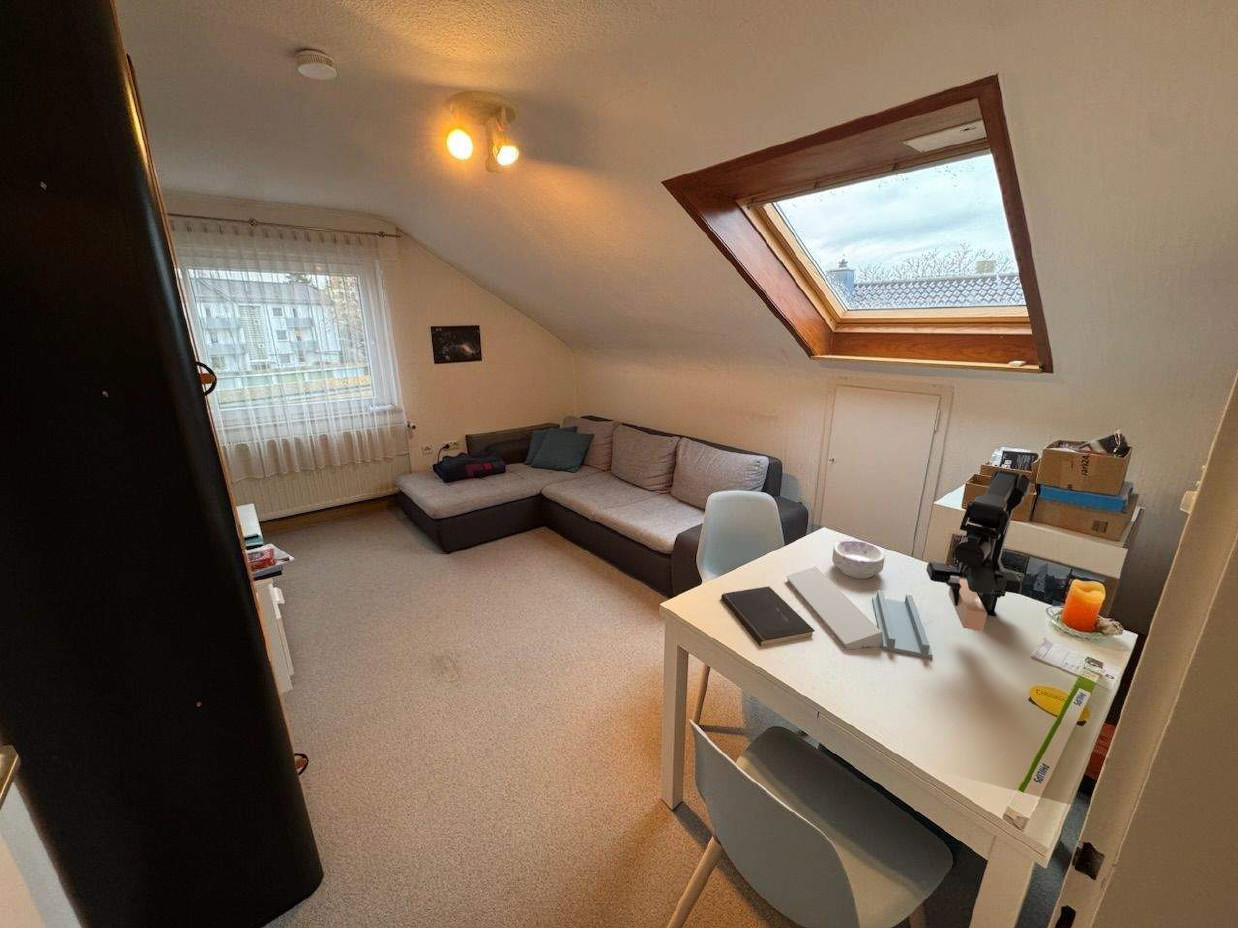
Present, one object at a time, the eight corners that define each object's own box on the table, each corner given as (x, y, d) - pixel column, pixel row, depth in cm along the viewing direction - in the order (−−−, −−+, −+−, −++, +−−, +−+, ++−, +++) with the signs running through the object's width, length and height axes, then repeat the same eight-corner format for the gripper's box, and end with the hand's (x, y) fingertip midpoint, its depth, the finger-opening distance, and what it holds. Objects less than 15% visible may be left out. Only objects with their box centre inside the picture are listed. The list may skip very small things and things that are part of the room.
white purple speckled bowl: (842, 584, 158) (846, 561, 155) (823, 560, 172) (826, 539, 170) (891, 583, 158) (894, 560, 156) (867, 560, 172) (870, 539, 170)
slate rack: (913, 606, 146) (915, 595, 145) (931, 658, 124) (934, 646, 123) (872, 599, 149) (873, 589, 148) (882, 649, 128) (884, 637, 127)
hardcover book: (768, 592, 155) (769, 586, 154) (814, 637, 133) (814, 630, 133) (720, 600, 151) (721, 593, 150) (759, 647, 130) (760, 640, 129)
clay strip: (965, 596, 133) (969, 580, 132) (982, 631, 119) (987, 613, 117) (948, 593, 135) (951, 577, 133) (963, 627, 120) (967, 609, 119)
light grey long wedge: (847, 658, 129) (884, 646, 129) (845, 644, 127) (882, 631, 127) (788, 588, 161) (817, 578, 161) (786, 576, 159) (815, 566, 160)
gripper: (941, 560, 118) (930, 617, 122) (1038, 573, 111) (1022, 632, 116) (931, 540, 128) (921, 593, 132) (1019, 551, 121) (1005, 607, 126)
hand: (965, 606), depth 126 cm, fingers closed on clay strip, 4 cm apart
